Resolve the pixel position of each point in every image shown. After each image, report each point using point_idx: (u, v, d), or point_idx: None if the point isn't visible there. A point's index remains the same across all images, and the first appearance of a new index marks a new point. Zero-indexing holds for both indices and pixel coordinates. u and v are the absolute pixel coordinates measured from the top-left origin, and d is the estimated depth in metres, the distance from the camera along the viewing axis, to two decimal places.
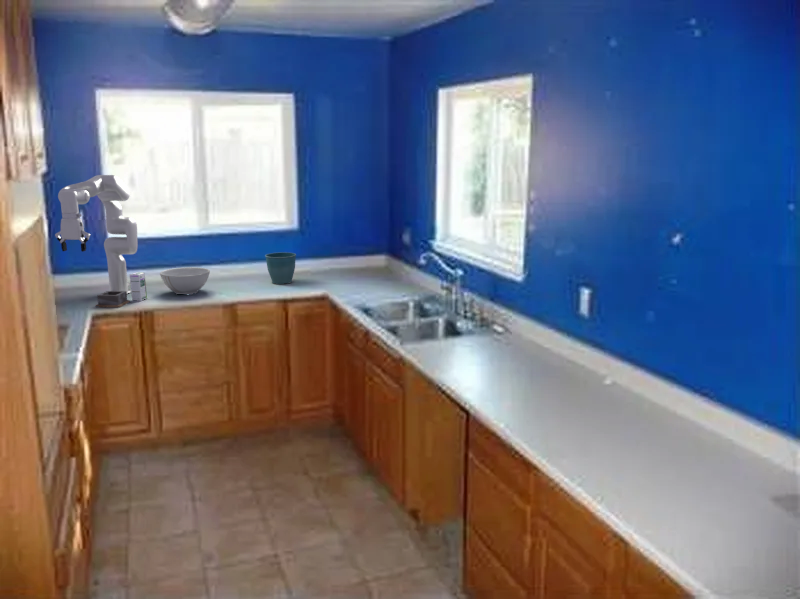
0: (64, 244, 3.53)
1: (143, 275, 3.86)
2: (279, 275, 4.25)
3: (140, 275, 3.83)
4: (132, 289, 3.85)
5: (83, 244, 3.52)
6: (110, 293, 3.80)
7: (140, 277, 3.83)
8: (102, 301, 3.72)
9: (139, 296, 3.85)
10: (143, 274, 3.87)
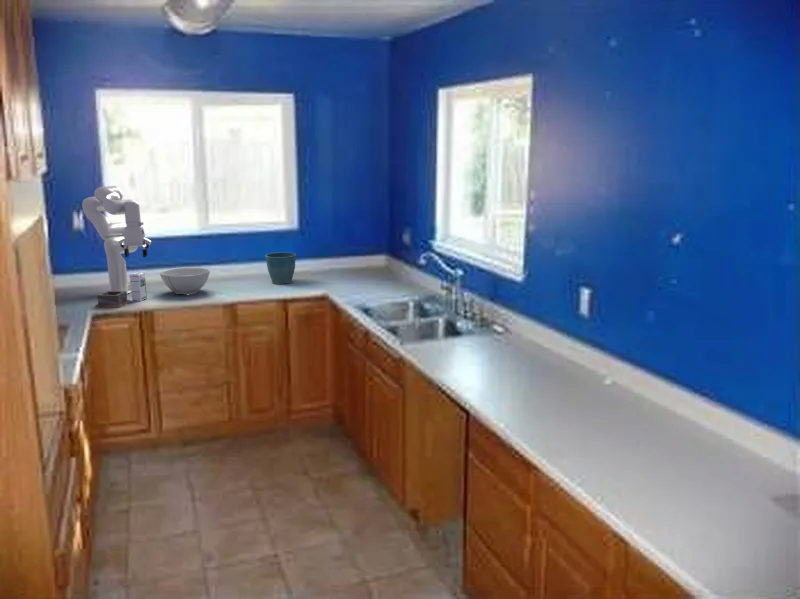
0: (127, 250, 3.82)
1: (143, 275, 3.86)
2: (279, 275, 4.25)
3: (140, 275, 3.83)
4: (132, 289, 3.85)
5: (145, 250, 3.81)
6: (110, 293, 3.80)
7: (140, 277, 3.83)
8: (102, 301, 3.72)
9: (139, 296, 3.85)
10: (143, 274, 3.87)
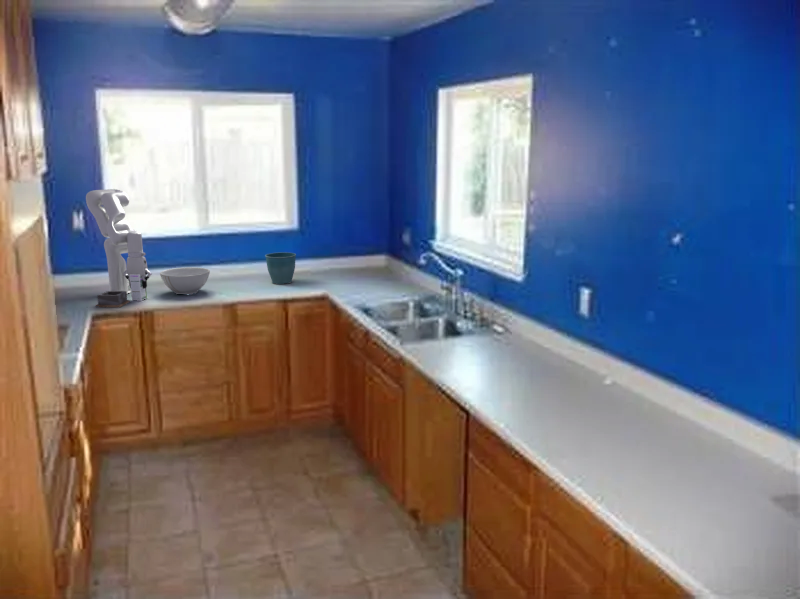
0: None
1: None
2: (279, 275, 4.25)
3: None
4: (132, 289, 3.85)
5: (144, 282, 3.85)
6: (110, 293, 3.80)
7: (140, 277, 3.83)
8: (102, 301, 3.72)
9: (139, 296, 3.85)
10: None
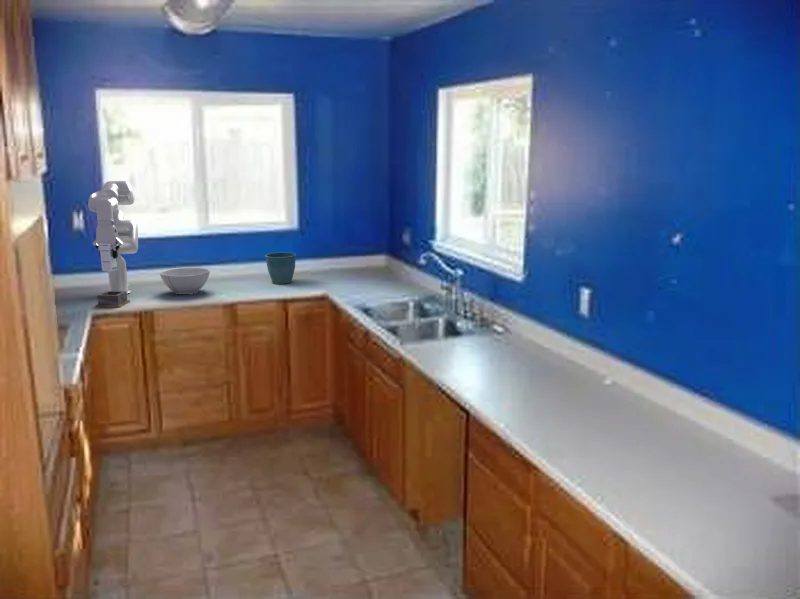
0: None
1: None
2: (279, 275, 4.25)
3: None
4: (102, 259, 3.69)
5: (115, 251, 3.70)
6: (110, 293, 3.80)
7: (110, 246, 3.68)
8: (102, 301, 3.72)
9: (109, 266, 3.70)
10: None
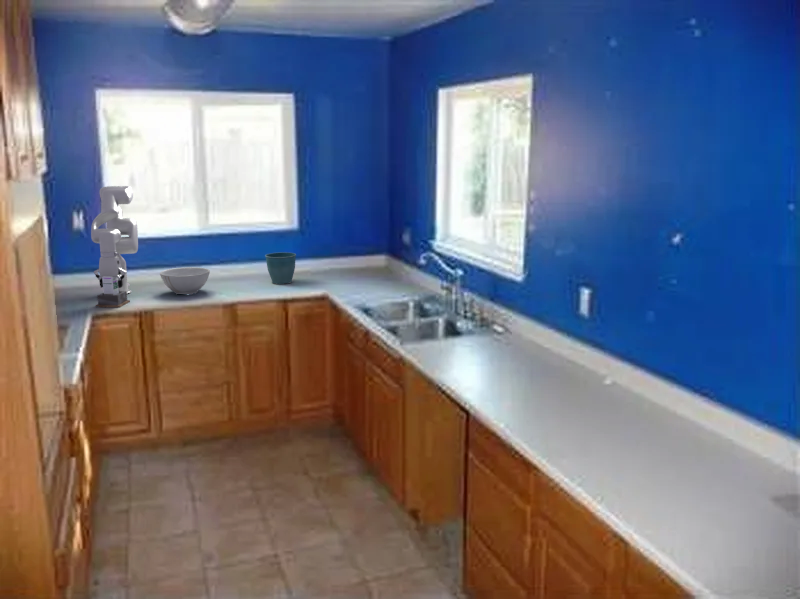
0: (102, 281, 3.74)
1: (116, 277, 3.75)
2: (279, 275, 4.25)
3: (113, 277, 3.72)
4: (105, 292, 3.73)
5: (120, 281, 3.73)
6: None
7: (113, 279, 3.72)
8: (102, 301, 3.72)
9: None
10: None
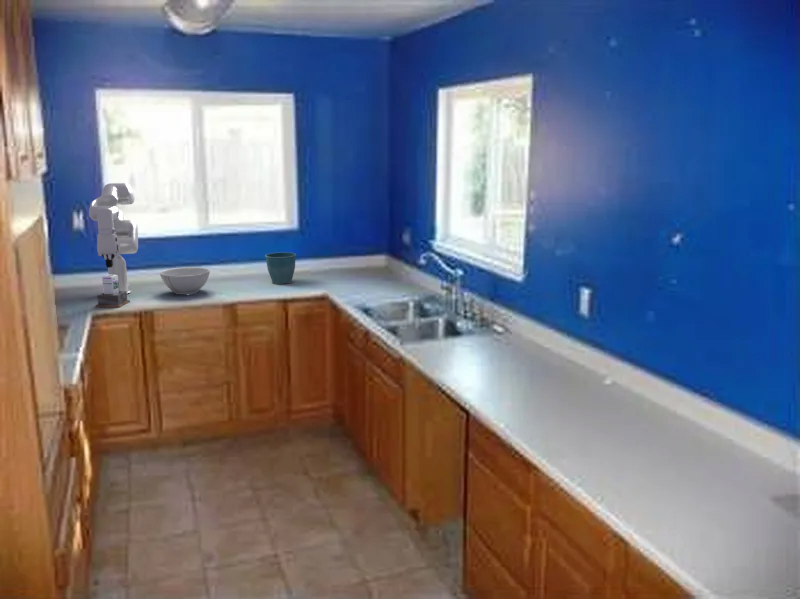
0: None
1: (116, 277, 3.75)
2: (279, 275, 4.25)
3: (113, 277, 3.72)
4: (105, 292, 3.73)
5: (110, 260, 3.71)
6: None
7: (113, 279, 3.72)
8: (102, 301, 3.72)
9: None
10: (117, 277, 3.76)
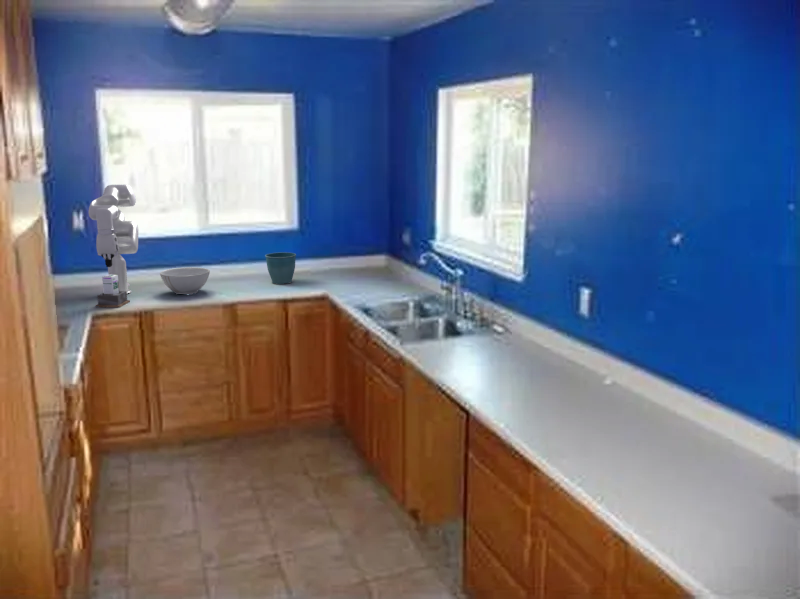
0: None
1: (116, 277, 3.75)
2: (279, 275, 4.25)
3: (113, 277, 3.72)
4: (105, 292, 3.73)
5: (110, 260, 3.74)
6: None
7: (113, 279, 3.72)
8: (102, 301, 3.72)
9: None
10: (117, 277, 3.76)
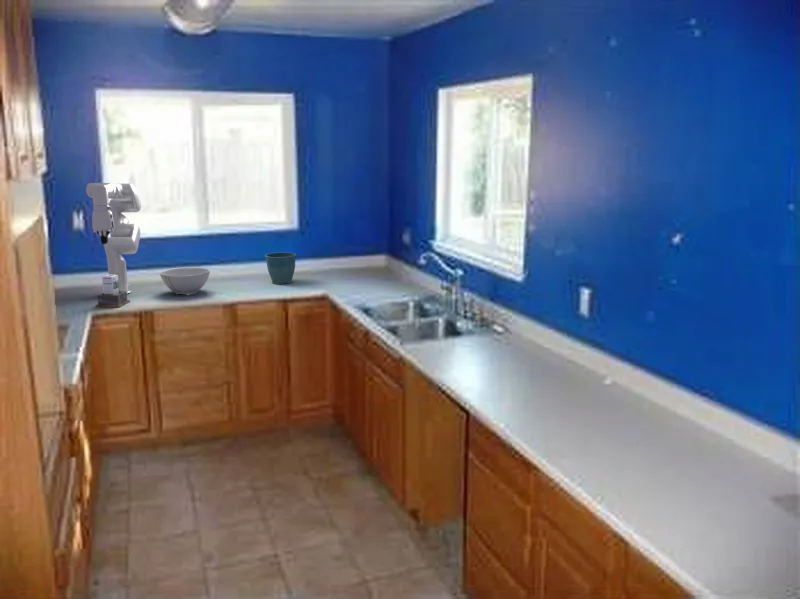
0: None
1: (116, 277, 3.75)
2: (279, 275, 4.25)
3: (113, 277, 3.72)
4: (105, 292, 3.73)
5: (105, 237, 3.76)
6: None
7: (113, 279, 3.72)
8: (102, 301, 3.72)
9: None
10: (117, 277, 3.76)
